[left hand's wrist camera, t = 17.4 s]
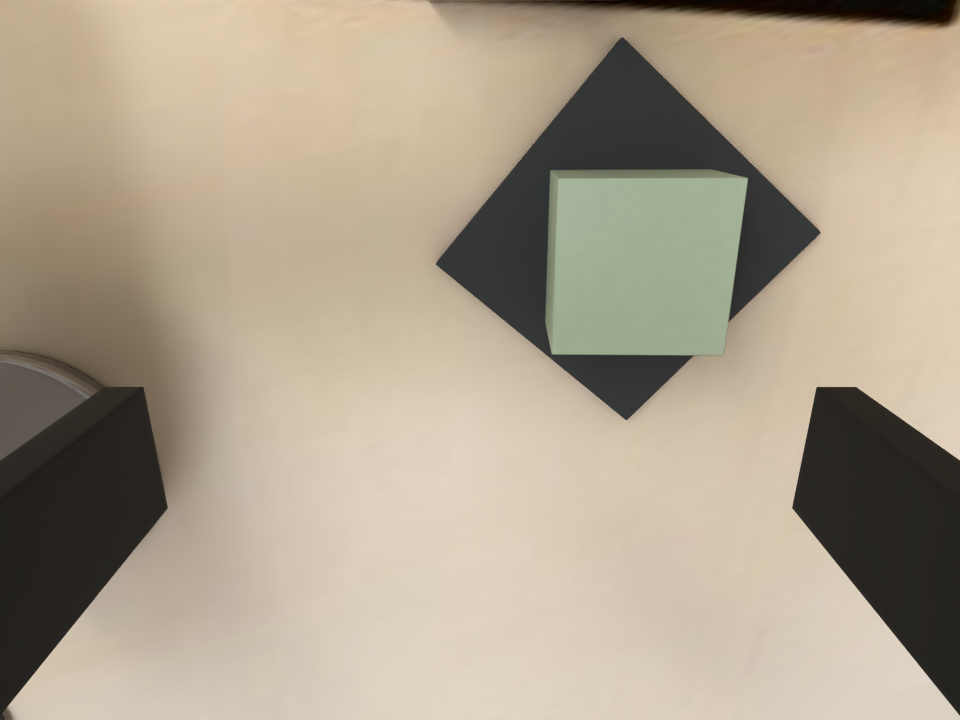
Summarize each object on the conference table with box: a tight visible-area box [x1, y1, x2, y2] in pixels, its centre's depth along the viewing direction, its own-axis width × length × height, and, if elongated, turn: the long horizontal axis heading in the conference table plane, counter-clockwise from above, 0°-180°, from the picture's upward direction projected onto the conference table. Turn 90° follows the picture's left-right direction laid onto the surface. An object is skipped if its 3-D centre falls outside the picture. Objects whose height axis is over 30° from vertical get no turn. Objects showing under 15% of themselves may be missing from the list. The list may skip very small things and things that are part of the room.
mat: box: [436, 37, 821, 420], centre depth 33 cm, size 14×14×1 cm
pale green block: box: [545, 169, 748, 355], centre depth 31 cm, size 8×8×5 cm
